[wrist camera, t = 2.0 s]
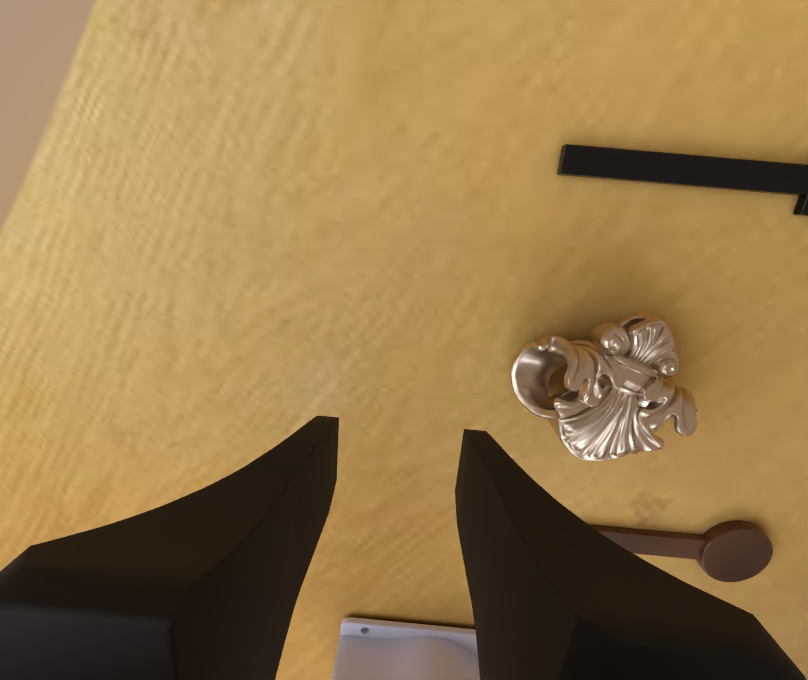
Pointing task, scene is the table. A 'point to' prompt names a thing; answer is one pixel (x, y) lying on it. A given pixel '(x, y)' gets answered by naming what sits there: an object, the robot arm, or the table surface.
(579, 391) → the ornament
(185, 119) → the table surface
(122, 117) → the table surface
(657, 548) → the brown disc-ended stick
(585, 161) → the black fork
